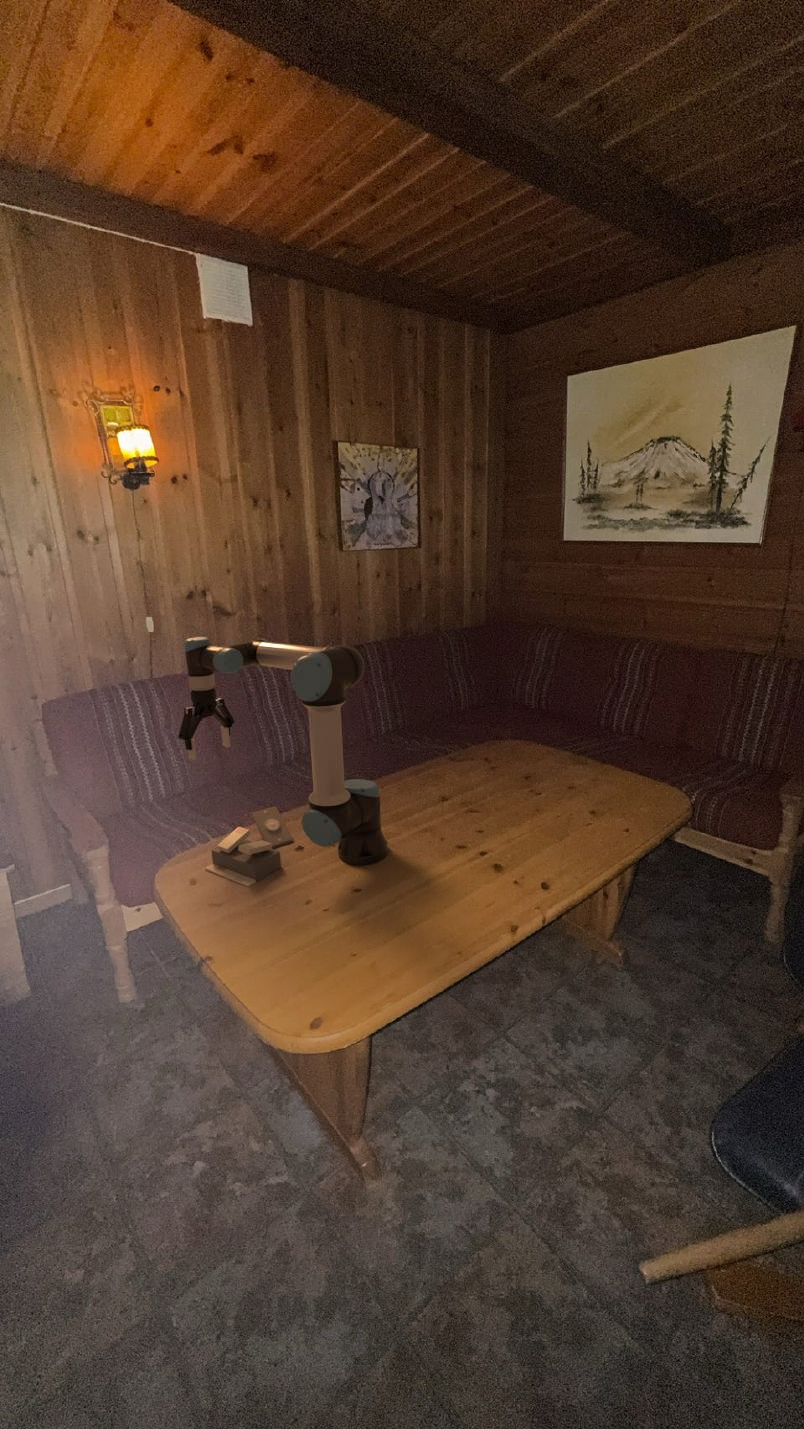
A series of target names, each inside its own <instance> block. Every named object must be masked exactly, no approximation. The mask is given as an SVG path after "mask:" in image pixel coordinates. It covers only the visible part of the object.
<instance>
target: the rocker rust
mask: <svg viewBox="0 0 804 1429" xmlns="http://www.w3.org/2000/svg"><path fill="white" fill-rule="evenodd" d="M250 835H251V832H250V830H249V829H247V828H244V827H241V826H237V827H236V828H235V829H234V830H233V831H232V832H231V833H229V834H228V835H227V836H226V837H225V838H224V839H223V840H221V842H219V843H218V844H217V845H216V847H218V849H219V850H221V851H224V852H227V853H230V852H231V851H232V850H233V849H234V848H236V847H237V846H238V845H239V844H240V843H241V842H242V841H243V840H244V839H246V840H247V838H248V837H249V836H250Z"/></svg>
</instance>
